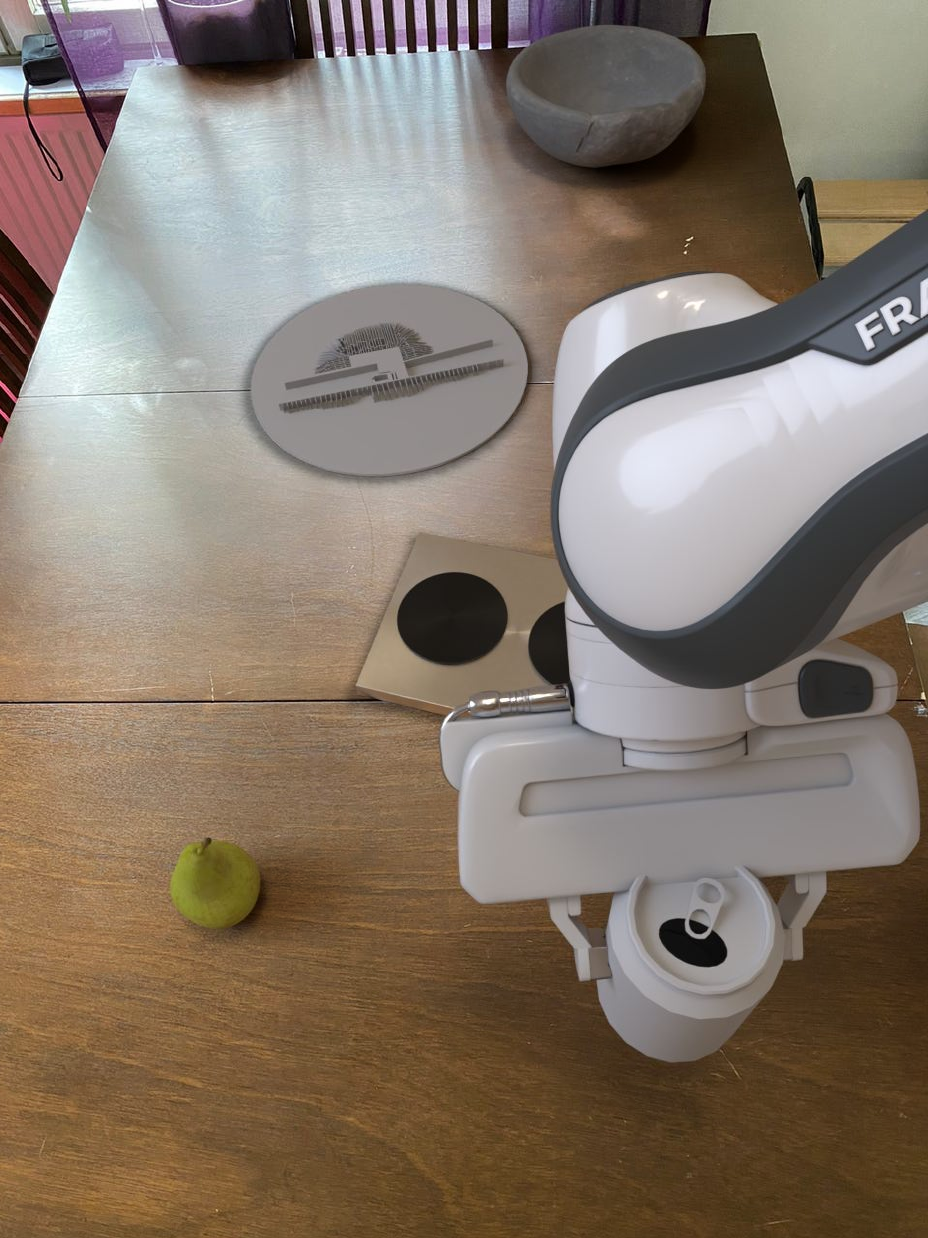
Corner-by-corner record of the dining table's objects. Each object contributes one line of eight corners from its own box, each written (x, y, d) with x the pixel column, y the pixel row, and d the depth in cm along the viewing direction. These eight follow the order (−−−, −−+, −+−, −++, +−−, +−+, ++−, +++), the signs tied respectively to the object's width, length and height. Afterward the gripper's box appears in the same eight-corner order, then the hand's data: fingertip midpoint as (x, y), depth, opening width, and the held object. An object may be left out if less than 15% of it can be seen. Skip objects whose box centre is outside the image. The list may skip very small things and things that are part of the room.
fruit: (178, 882, 69) (118, 814, 59) (256, 848, 70) (210, 776, 60) (199, 957, 66) (140, 899, 56) (281, 920, 67) (237, 857, 57)
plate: (264, 501, 89) (261, 492, 88) (241, 312, 105) (238, 303, 104) (559, 444, 91) (559, 435, 90) (493, 267, 107) (492, 257, 106)
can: (574, 1028, 50) (586, 963, 40) (622, 895, 53) (644, 806, 43) (718, 1092, 47) (768, 1041, 38) (757, 949, 51) (812, 869, 41)
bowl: (704, 104, 123) (716, 19, 115) (686, 206, 111) (698, 120, 103) (526, 93, 127) (526, 10, 119) (490, 191, 115) (487, 106, 107)
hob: (670, 592, 81) (674, 576, 79) (632, 760, 72) (635, 746, 70) (420, 542, 85) (418, 525, 83) (357, 695, 77) (353, 680, 75)
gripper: (432, 716, 39) (465, 1027, 41) (937, 667, 39) (939, 980, 41) (434, 679, 45) (462, 951, 48) (869, 637, 45) (875, 911, 48)
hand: (688, 964), depth 45 cm, fingers closed on can, 7 cm apart
